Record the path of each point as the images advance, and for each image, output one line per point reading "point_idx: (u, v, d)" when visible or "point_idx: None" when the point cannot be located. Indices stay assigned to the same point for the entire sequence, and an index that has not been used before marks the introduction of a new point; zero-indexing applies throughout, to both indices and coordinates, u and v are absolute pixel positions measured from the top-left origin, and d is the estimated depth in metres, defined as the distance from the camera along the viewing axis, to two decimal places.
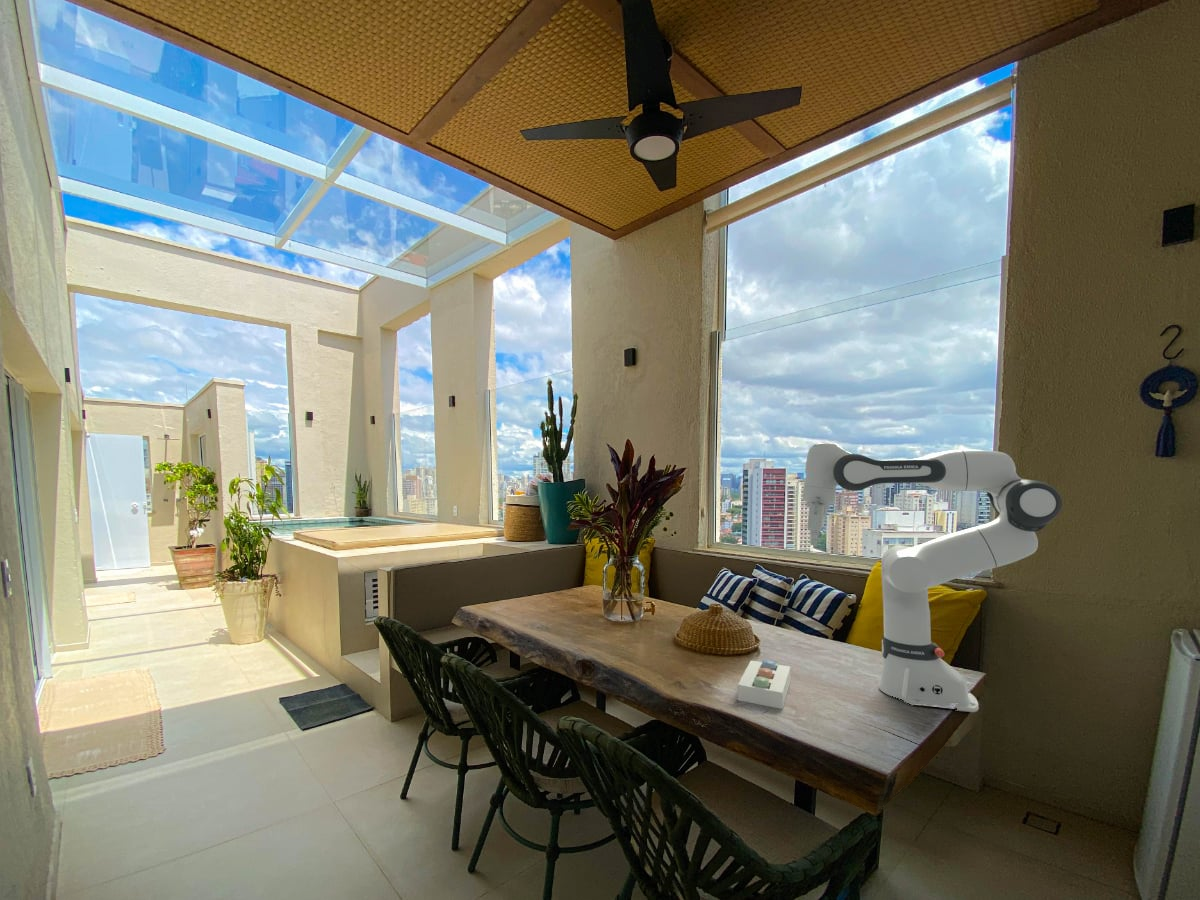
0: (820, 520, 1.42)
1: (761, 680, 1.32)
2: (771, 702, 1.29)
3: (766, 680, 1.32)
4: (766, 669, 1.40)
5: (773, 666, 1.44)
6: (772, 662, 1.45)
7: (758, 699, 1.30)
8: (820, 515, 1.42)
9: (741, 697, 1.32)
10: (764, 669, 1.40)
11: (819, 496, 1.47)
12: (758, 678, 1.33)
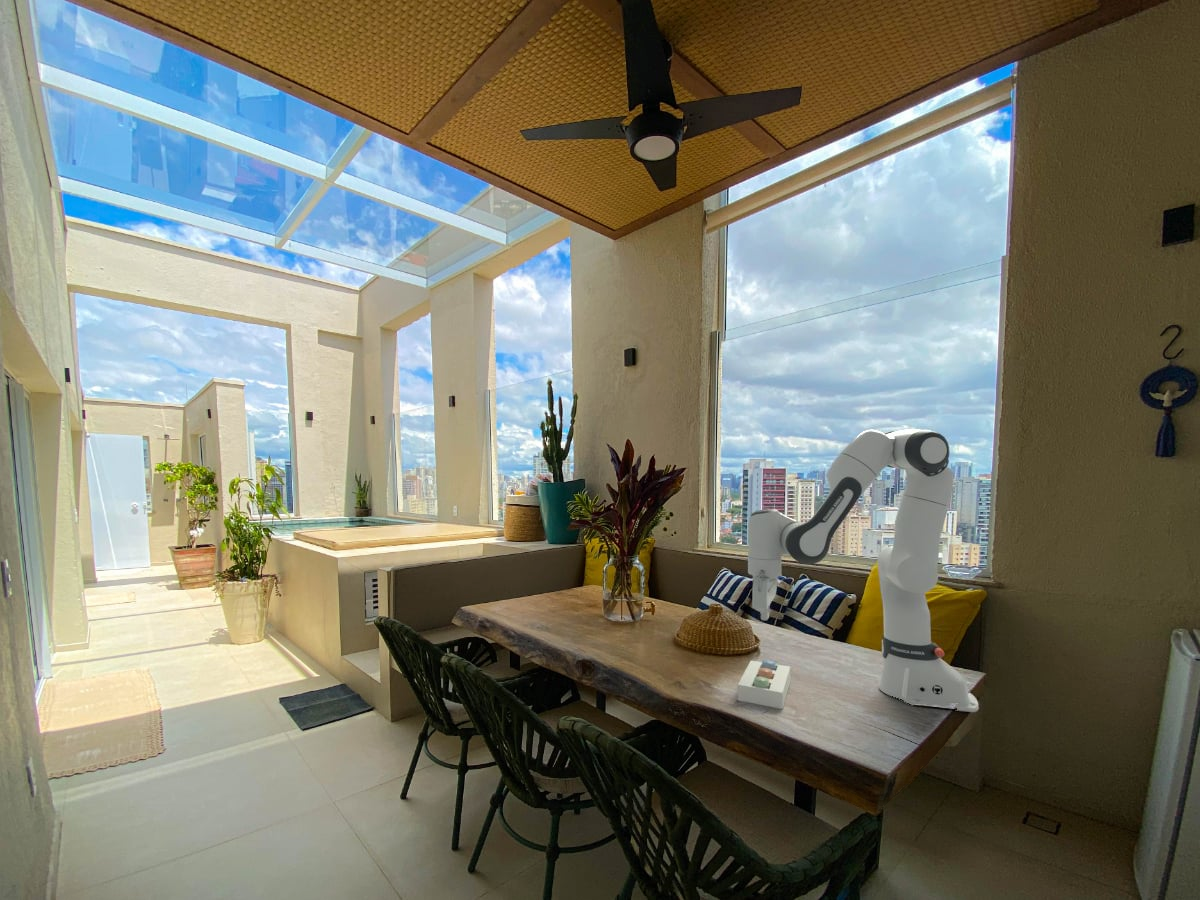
0: (765, 598, 1.31)
1: (761, 680, 1.32)
2: (771, 702, 1.29)
3: (766, 680, 1.32)
4: (766, 669, 1.40)
5: (773, 666, 1.44)
6: (772, 662, 1.45)
7: (758, 699, 1.30)
8: (764, 592, 1.31)
9: (741, 697, 1.32)
10: (764, 669, 1.40)
11: (763, 569, 1.36)
12: (758, 678, 1.33)
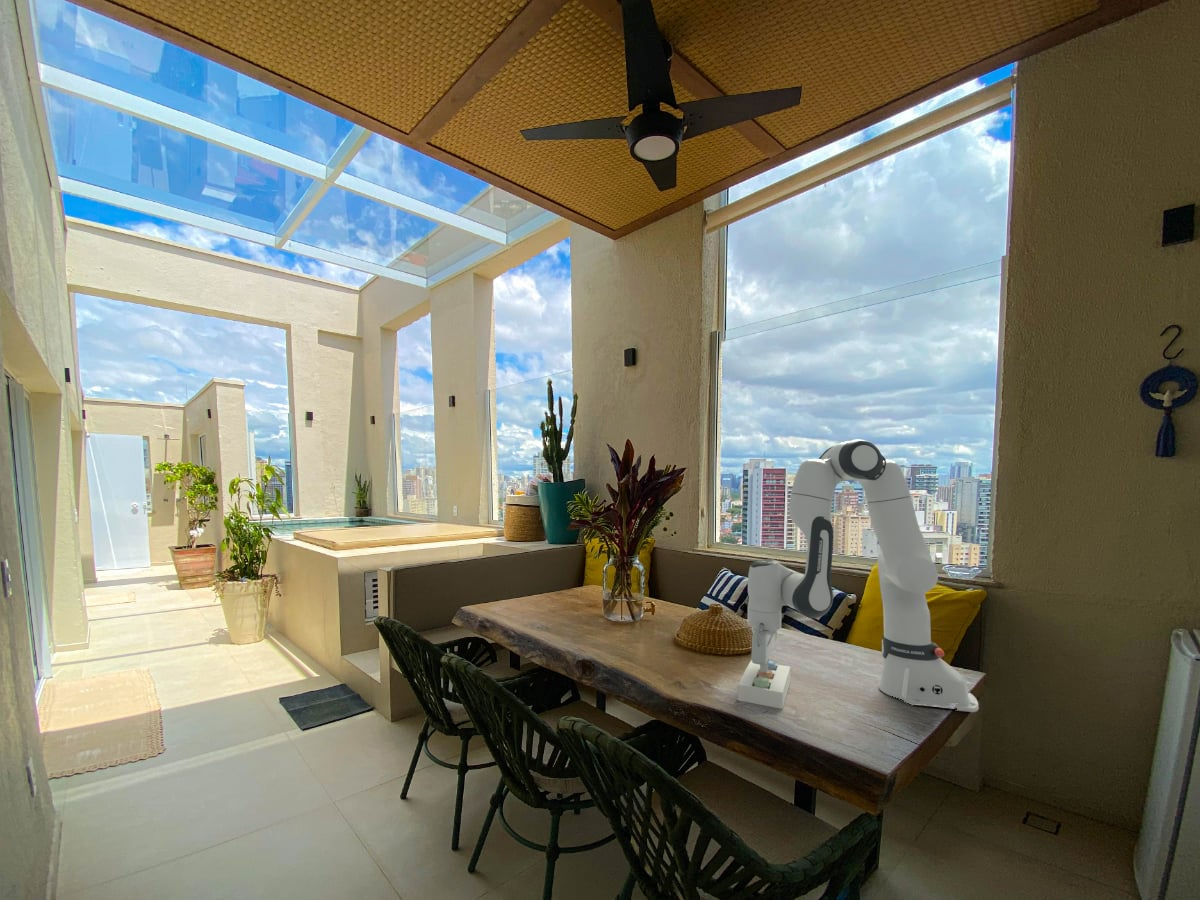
0: (764, 653, 1.30)
1: (761, 680, 1.32)
2: (771, 702, 1.29)
3: (766, 680, 1.32)
4: None
5: (773, 666, 1.44)
6: (772, 662, 1.45)
7: (758, 699, 1.30)
8: (763, 648, 1.30)
9: (741, 697, 1.32)
10: None
11: (763, 622, 1.36)
12: (758, 678, 1.33)
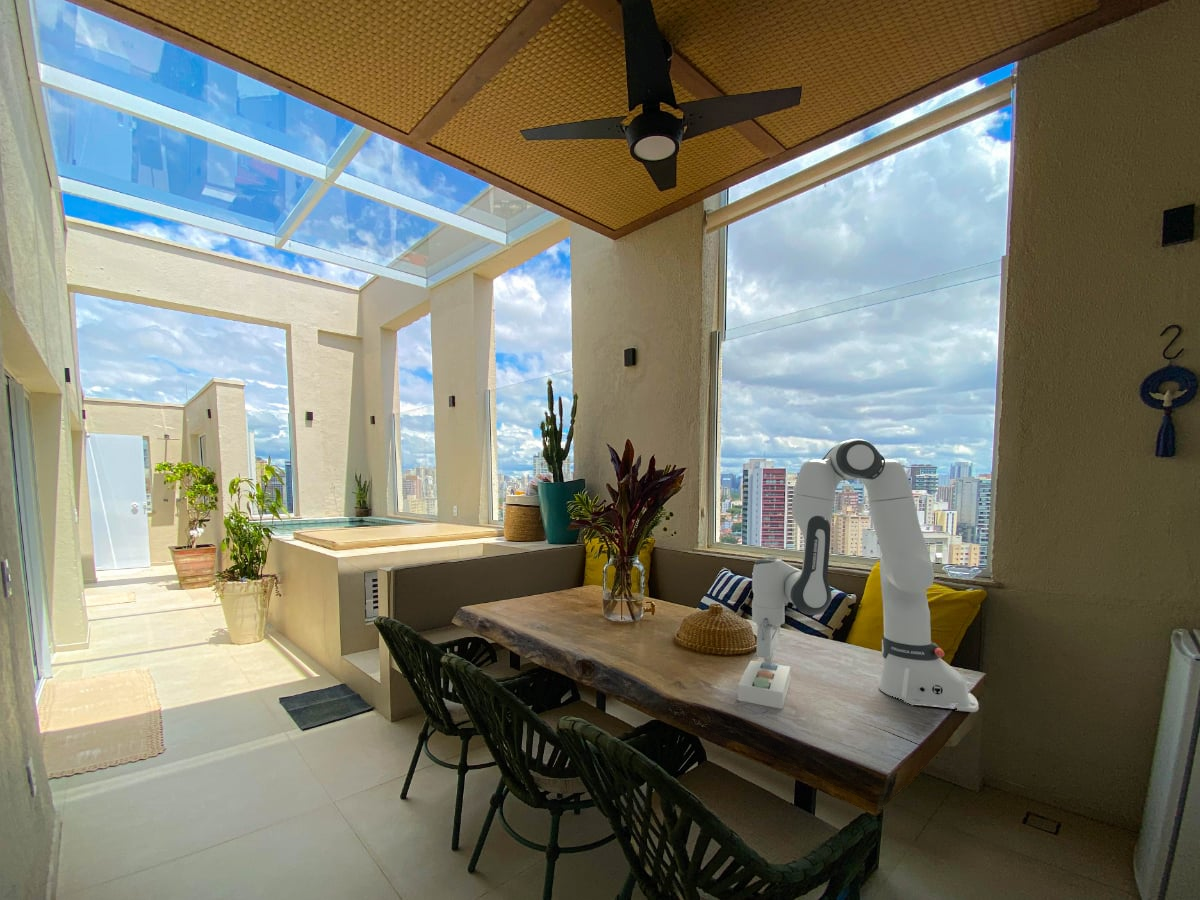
0: (768, 647, 1.36)
1: (761, 680, 1.32)
2: (771, 702, 1.29)
3: (766, 680, 1.32)
4: (766, 672, 1.39)
5: (773, 668, 1.44)
6: (772, 664, 1.45)
7: (758, 699, 1.30)
8: (768, 642, 1.37)
9: (741, 697, 1.32)
10: (764, 672, 1.40)
11: (767, 617, 1.42)
12: (758, 678, 1.33)
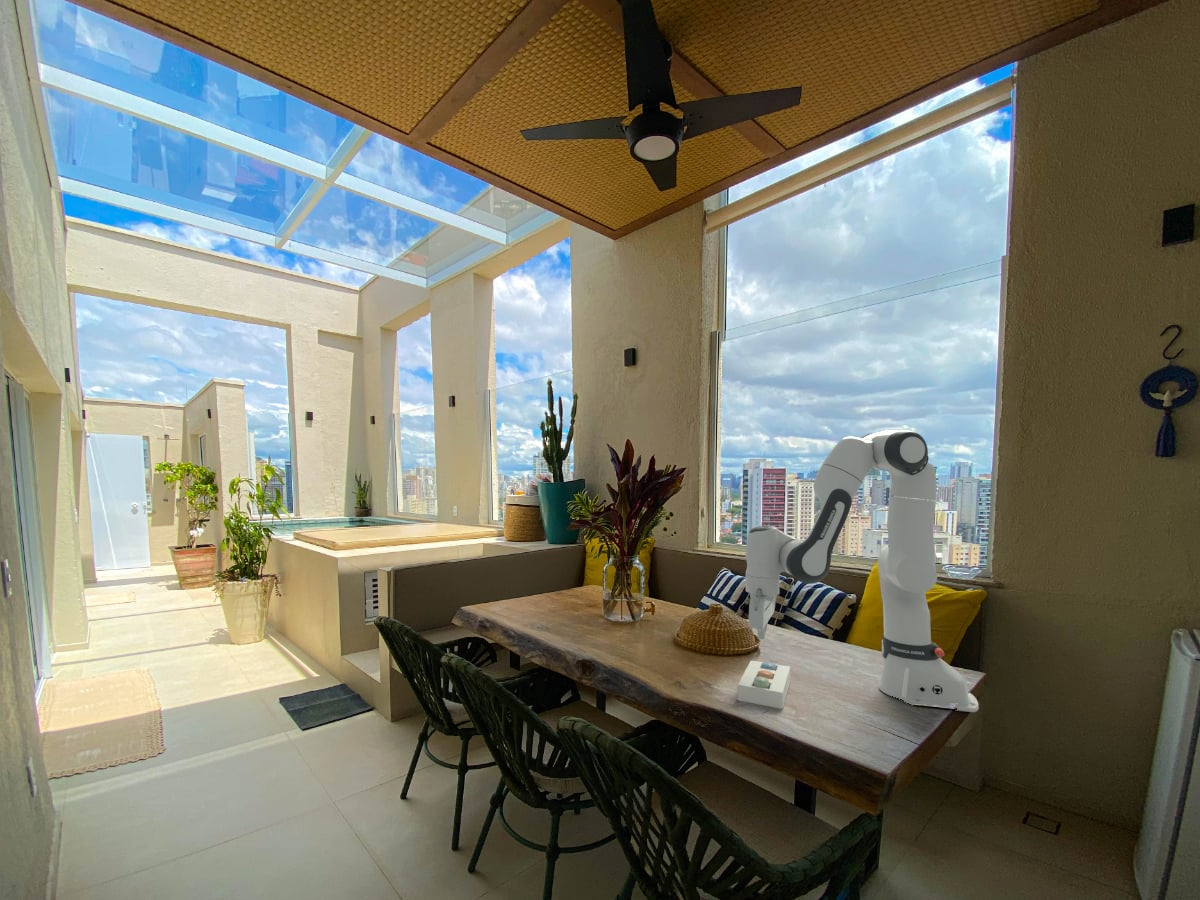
0: (761, 618, 1.29)
1: (761, 680, 1.32)
2: (771, 702, 1.29)
3: (766, 680, 1.32)
4: (766, 672, 1.39)
5: (773, 668, 1.44)
6: (772, 664, 1.45)
7: (758, 699, 1.30)
8: (761, 612, 1.29)
9: (741, 697, 1.32)
10: (764, 672, 1.40)
11: (761, 587, 1.34)
12: (758, 678, 1.33)
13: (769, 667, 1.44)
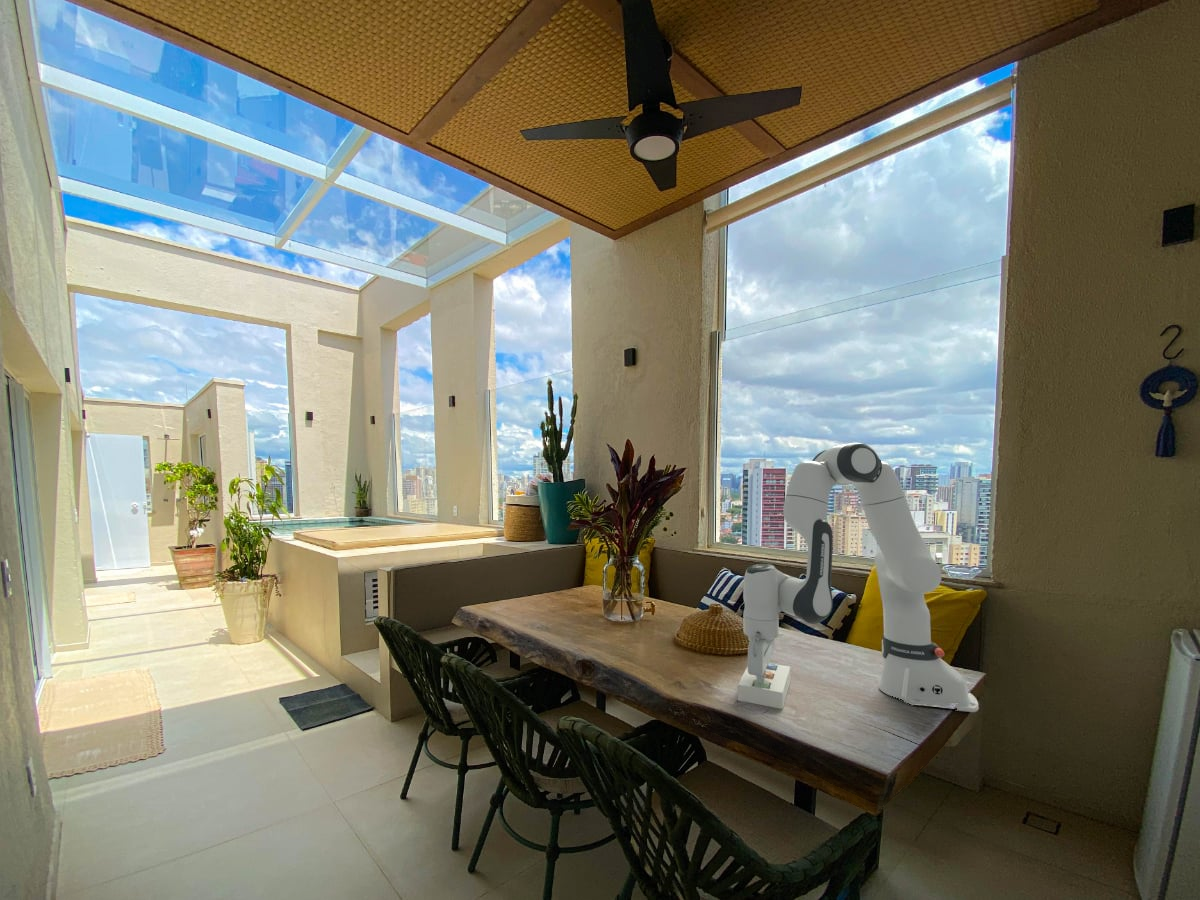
0: (760, 664, 1.24)
1: None
2: (771, 702, 1.29)
3: (766, 682, 1.32)
4: (766, 672, 1.39)
5: (773, 668, 1.44)
6: (772, 664, 1.45)
7: (758, 699, 1.30)
8: (760, 658, 1.24)
9: (741, 697, 1.32)
10: None
11: (759, 630, 1.29)
12: None
13: (769, 667, 1.44)
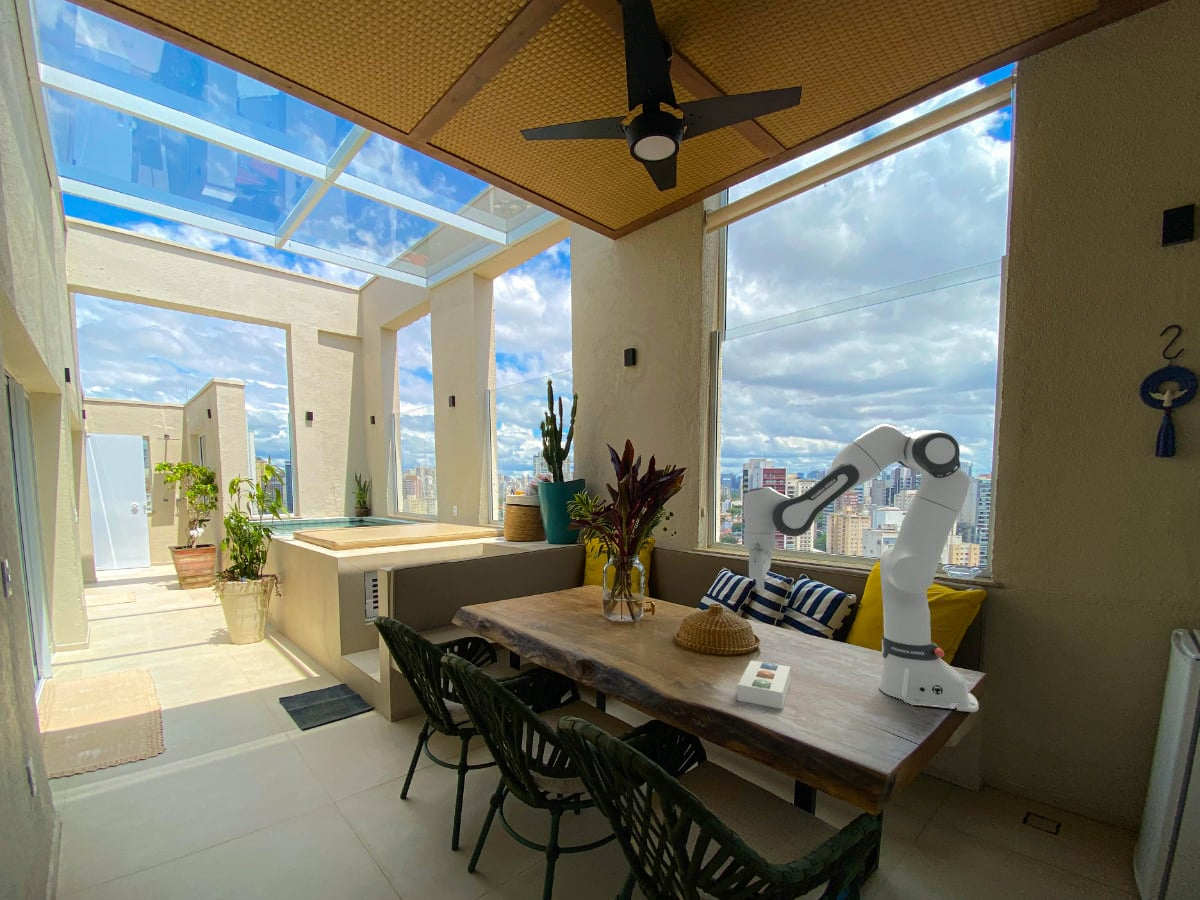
0: (760, 568, 1.40)
1: (761, 683, 1.32)
2: (771, 702, 1.29)
3: (766, 683, 1.32)
4: (766, 672, 1.39)
5: (773, 668, 1.44)
6: (772, 664, 1.45)
7: (758, 699, 1.30)
8: (760, 563, 1.40)
9: (741, 697, 1.32)
10: (764, 672, 1.40)
11: (758, 542, 1.46)
12: (758, 681, 1.33)
13: (769, 667, 1.44)
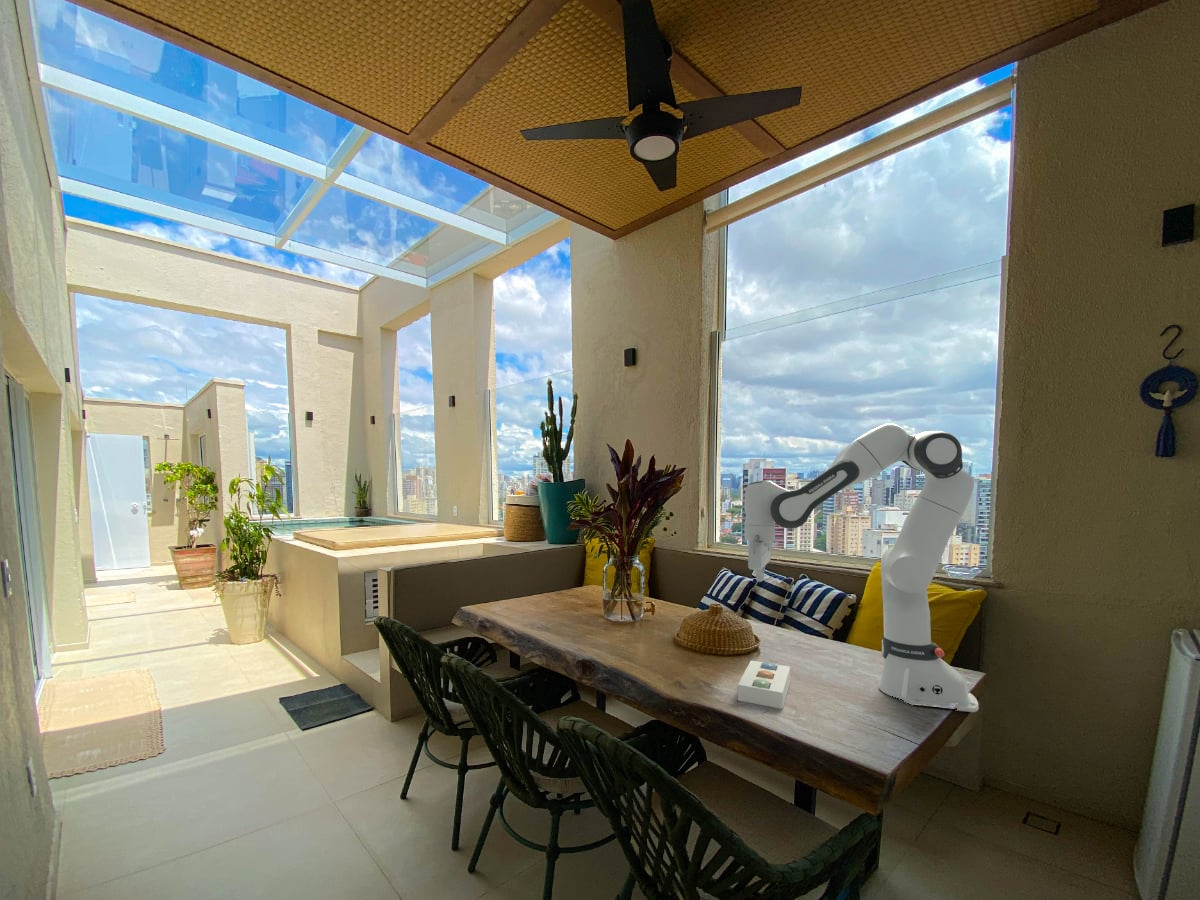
0: (759, 559, 1.43)
1: (761, 683, 1.32)
2: (771, 702, 1.29)
3: (766, 683, 1.32)
4: (766, 672, 1.39)
5: (773, 668, 1.44)
6: (772, 664, 1.45)
7: (758, 699, 1.30)
8: (759, 554, 1.44)
9: (741, 697, 1.32)
10: (764, 672, 1.40)
11: (758, 534, 1.49)
12: (758, 681, 1.33)
13: (769, 667, 1.44)
